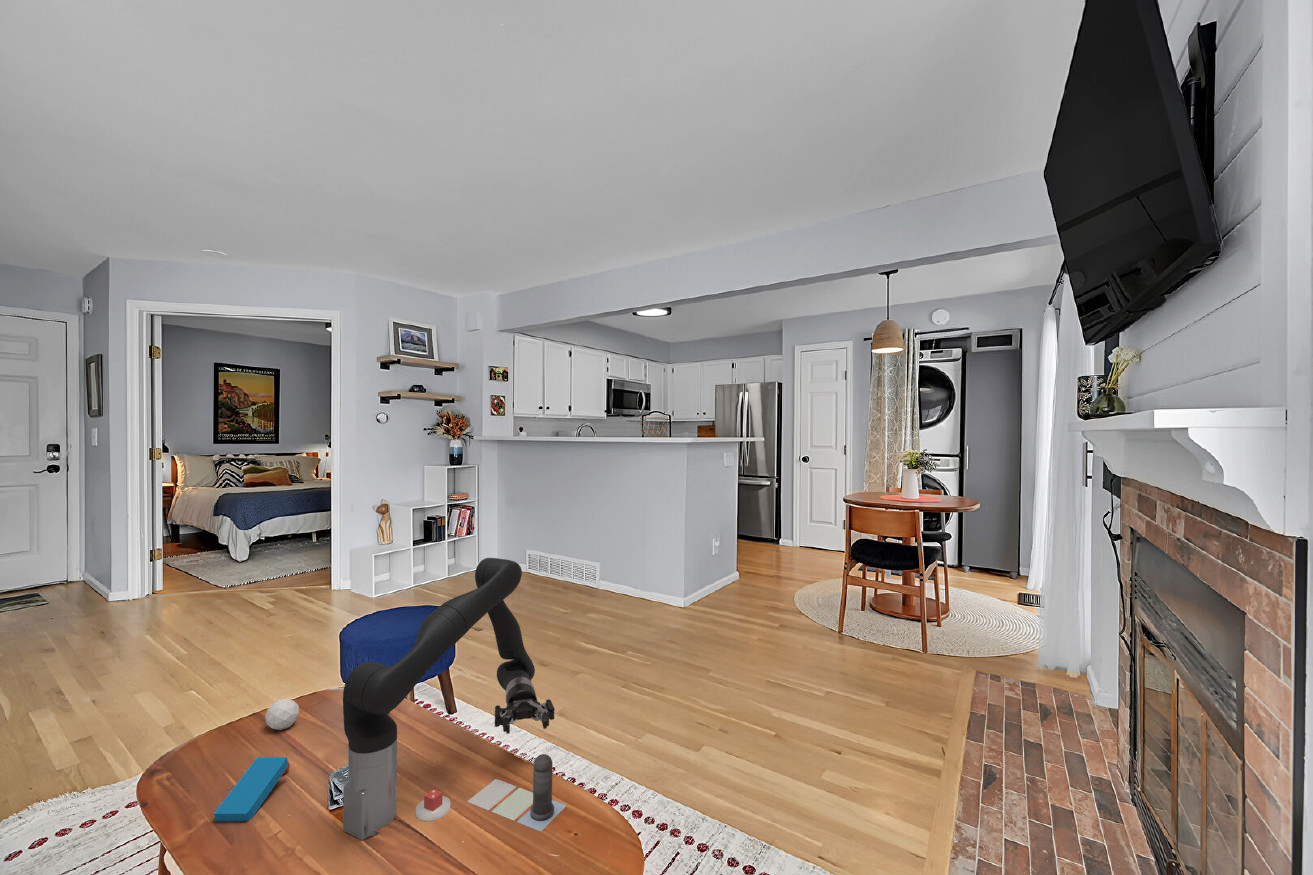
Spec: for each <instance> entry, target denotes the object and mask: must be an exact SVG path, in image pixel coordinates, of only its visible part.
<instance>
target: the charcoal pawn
mask: <svg viewBox="0 0 1313 875" xmlns="http://www.w3.org/2000/svg"><path fill="white" fill-rule="evenodd" d="M553 765H554V764H553V758H552V757H551V756H550V755H548V754H546V753H542V754H539V755H538V756H537V757H535V759H534V762H533V770H532V771H533V772H532V774H533V775H532V778H533V779H532V780H533V781H532V782H533V783H532V788H533V789H532V792H533V804H532V805H531V806H530V809H531V810H530V809H529V810H530V816H531V818H532V819H534V820H536V821H545V820H548V819H550V818H551V817H552V816H553V814H554V805H553V804H552V800H553Z"/></svg>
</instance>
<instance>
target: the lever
mask: <svg viewBox="0 0 1313 875" xmlns="http://www.w3.org/2000/svg"><path fill="white" fill-rule="evenodd" d="M289 770H290V762H289V761H288V757H287V756H278V757H277V756H276V757H275V756H270V757H267V756H264V757H263V756H260V757H259V756H258V757H256V758H255V759H254V761H253V763H251V765H250V766H249V767H248V769H247V770H246V771H245V772H244V774H243V775H242V776H241V777H240V779H239V780H238V781H237V783H236V784H235V785H234V786H233V788H232V789H231V790H230V791H229V793H228V795H227V796H226V797H225V798H224V800H223V801H222V802H221V804H219V806H218V807H217V809H216V810H215V811H214V812H213V817H214V820H215V822H250V820H252V819H253V817H255V814H256V813H257V812H258V810H259V809H260V807H261V805H263V803H264V802H265V800H266V799H267V797H268V796H269V794H270V793H271V792H272V790H273V789H274V788H275V786H276V784H277V783H278V781H279V780H280V778H282V776H284V775H286V774H287V773H288V772H289Z"/></svg>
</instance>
